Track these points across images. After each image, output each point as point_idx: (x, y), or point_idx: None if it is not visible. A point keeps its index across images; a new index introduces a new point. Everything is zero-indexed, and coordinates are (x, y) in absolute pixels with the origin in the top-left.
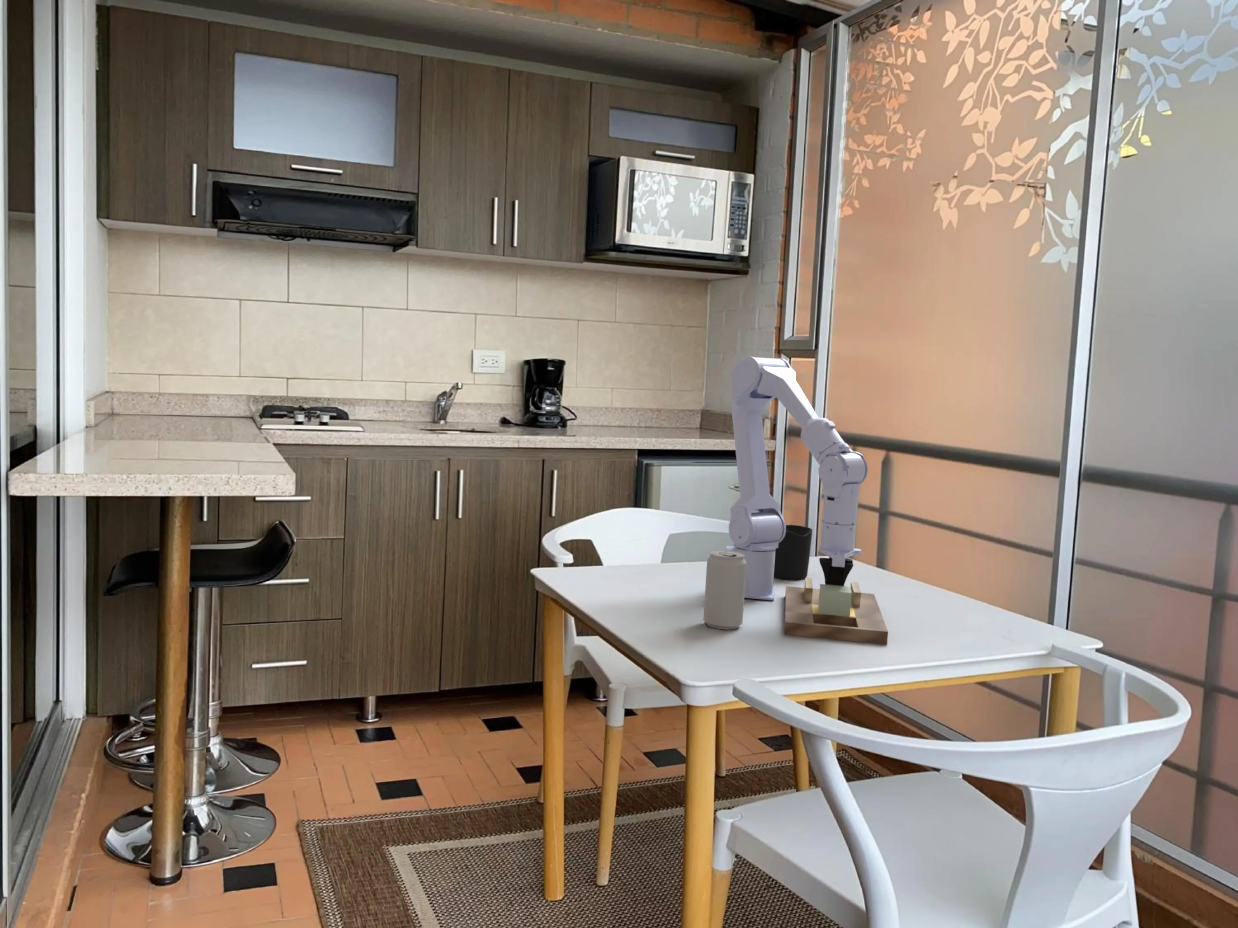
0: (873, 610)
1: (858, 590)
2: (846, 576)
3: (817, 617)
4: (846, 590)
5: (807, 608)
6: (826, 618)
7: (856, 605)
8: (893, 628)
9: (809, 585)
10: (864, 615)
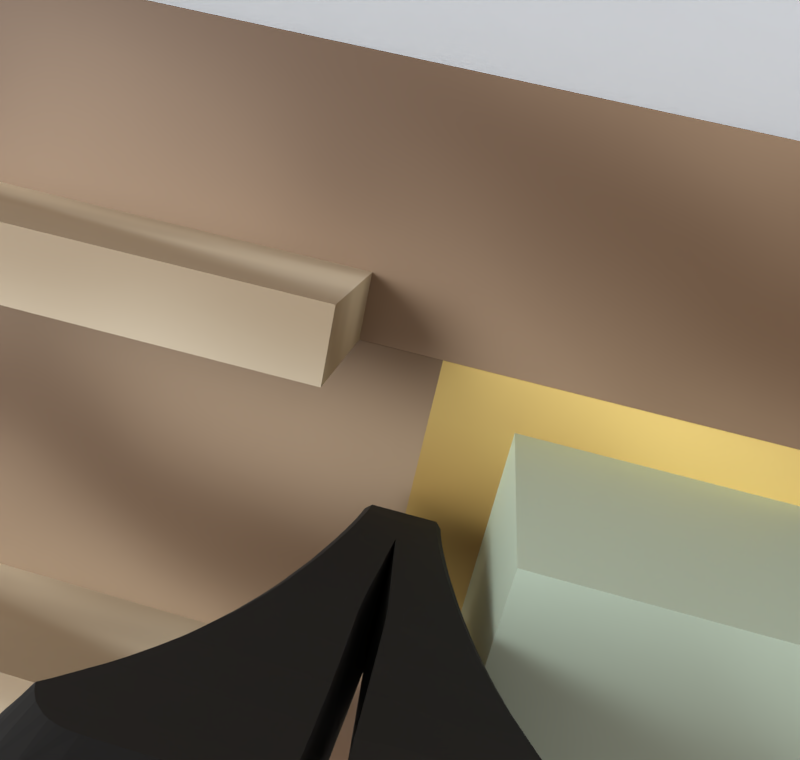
0: (511, 163)
1: (209, 297)
2: (521, 737)
3: None
4: (785, 696)
5: None
6: None
7: (362, 308)
8: (757, 3)
9: None
10: (750, 341)
